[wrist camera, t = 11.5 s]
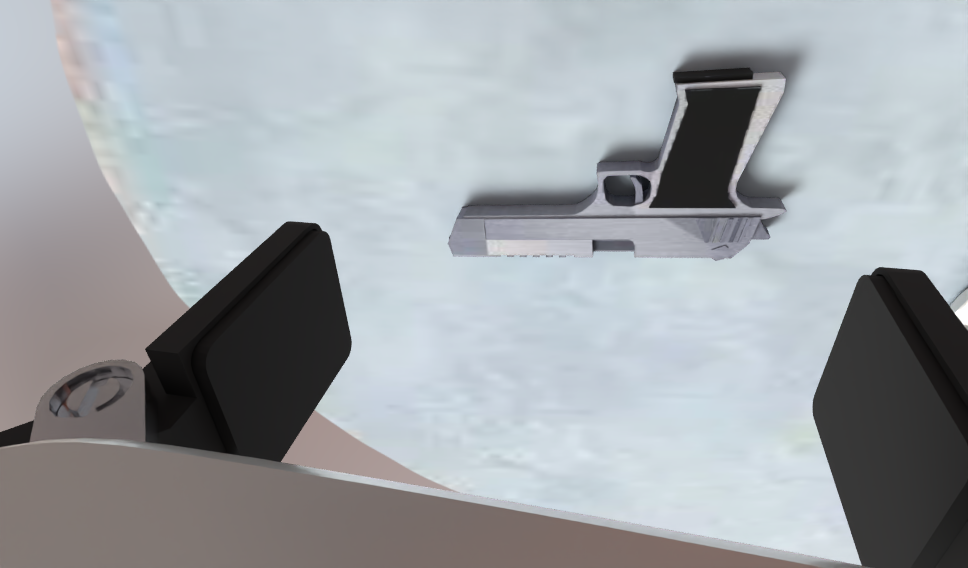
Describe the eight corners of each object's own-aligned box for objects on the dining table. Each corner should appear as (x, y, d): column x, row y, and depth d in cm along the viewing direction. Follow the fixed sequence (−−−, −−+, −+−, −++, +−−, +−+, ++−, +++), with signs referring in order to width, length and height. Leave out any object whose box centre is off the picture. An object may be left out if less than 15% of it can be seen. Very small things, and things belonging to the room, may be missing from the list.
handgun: (421, 95, 36) (448, 259, 43) (815, 72, 31) (778, 262, 38) (431, 85, 38) (456, 243, 45) (804, 61, 33) (770, 243, 40)
